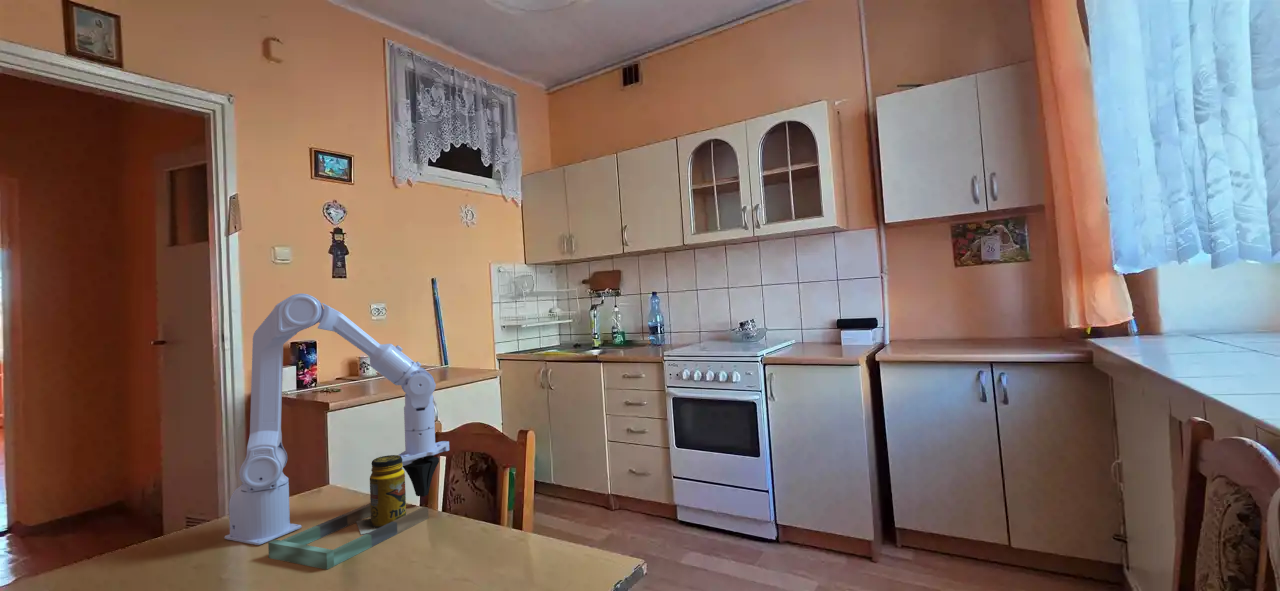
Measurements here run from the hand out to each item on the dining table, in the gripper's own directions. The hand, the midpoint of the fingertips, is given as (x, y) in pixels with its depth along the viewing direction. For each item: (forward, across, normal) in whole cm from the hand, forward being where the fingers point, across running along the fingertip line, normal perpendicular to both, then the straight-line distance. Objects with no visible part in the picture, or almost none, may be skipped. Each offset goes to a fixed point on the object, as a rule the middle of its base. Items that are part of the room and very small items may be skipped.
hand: (422, 495), depth 112 cm
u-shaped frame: (+2, -15, 0) cm, 16 cm away
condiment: (+2, -10, 0) cm, 10 cm away
